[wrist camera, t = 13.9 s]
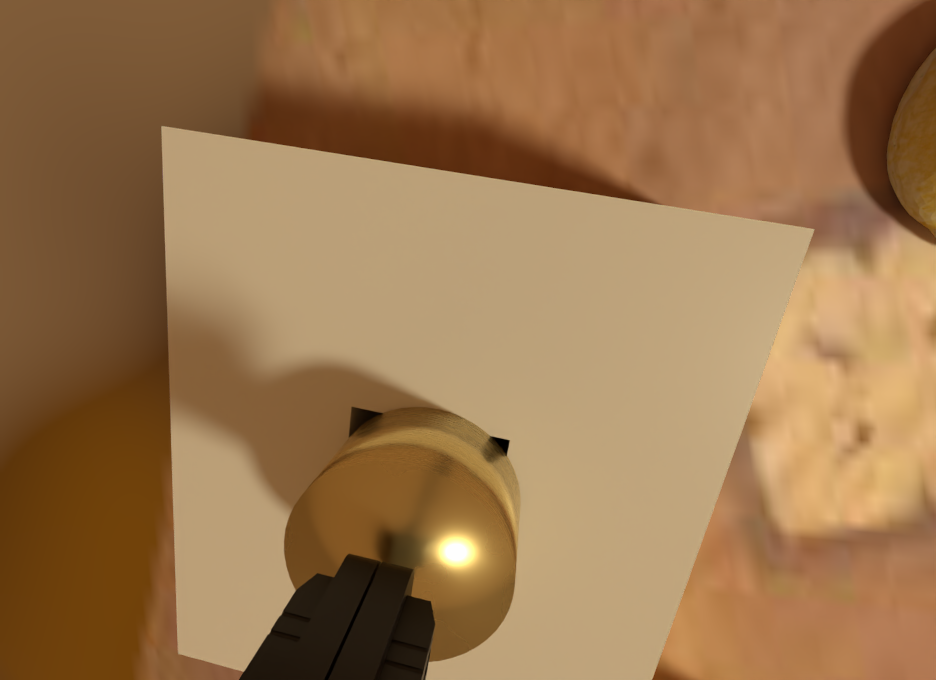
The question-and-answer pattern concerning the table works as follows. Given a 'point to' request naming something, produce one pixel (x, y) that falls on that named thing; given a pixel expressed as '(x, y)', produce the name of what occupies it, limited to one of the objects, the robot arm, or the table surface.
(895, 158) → the bread roll
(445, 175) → the pin block
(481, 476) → the brass-head pin
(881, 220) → the table surface
